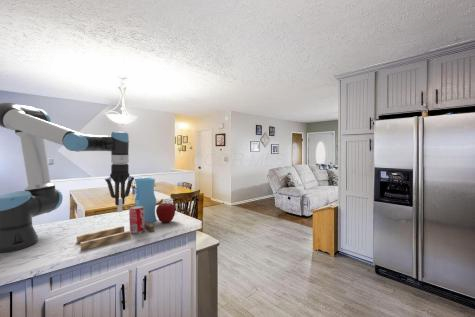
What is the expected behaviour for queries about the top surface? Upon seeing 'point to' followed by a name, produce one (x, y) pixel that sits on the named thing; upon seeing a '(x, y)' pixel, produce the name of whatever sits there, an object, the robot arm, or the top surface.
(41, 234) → the top surface
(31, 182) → the robot arm
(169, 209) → the apple
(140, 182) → the light blue storage bin
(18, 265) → the top surface
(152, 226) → the block
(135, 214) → the soda can
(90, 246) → the chute
